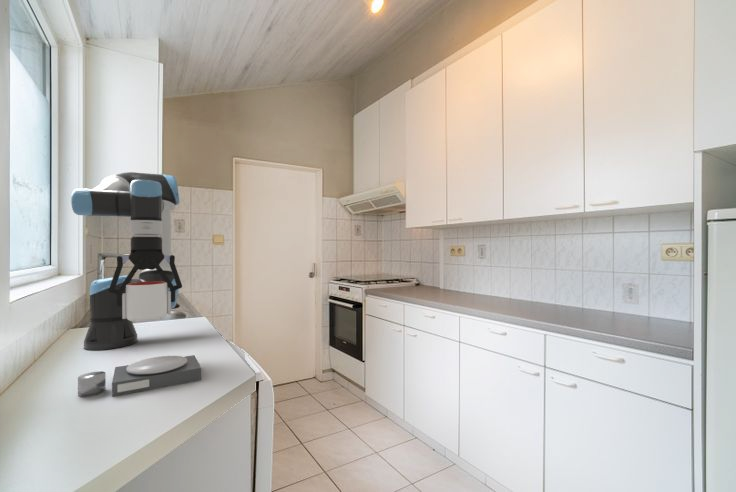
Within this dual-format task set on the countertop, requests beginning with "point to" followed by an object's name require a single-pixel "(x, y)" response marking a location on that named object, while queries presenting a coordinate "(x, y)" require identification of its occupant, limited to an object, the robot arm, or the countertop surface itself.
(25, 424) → the countertop surface
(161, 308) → the cup
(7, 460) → the countertop surface
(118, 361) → the countertop surface
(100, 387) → the cylinder
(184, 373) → the scale
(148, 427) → the countertop surface
